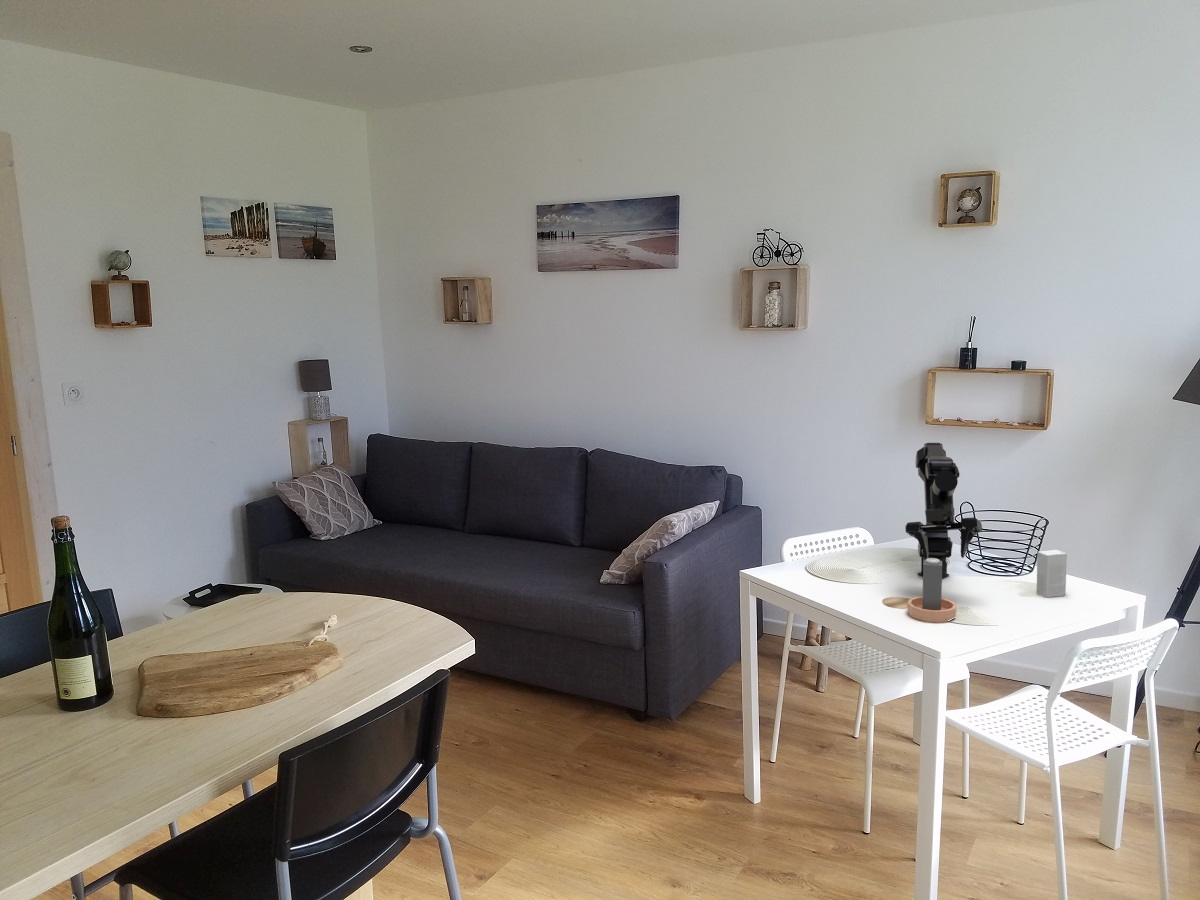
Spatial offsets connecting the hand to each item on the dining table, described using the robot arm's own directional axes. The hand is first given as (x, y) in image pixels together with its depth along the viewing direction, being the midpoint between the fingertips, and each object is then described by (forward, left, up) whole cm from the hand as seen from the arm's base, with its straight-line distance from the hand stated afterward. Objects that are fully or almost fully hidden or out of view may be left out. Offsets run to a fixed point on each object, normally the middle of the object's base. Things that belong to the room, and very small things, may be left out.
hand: (944, 558), depth 230 cm
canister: (+5, -11, -11) cm, 16 cm away
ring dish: (+5, -11, -12) cm, 17 cm away
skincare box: (+14, +27, -12) cm, 33 cm away
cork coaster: (-6, -10, -13) cm, 17 cm away
